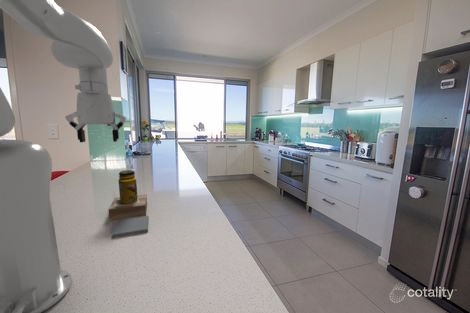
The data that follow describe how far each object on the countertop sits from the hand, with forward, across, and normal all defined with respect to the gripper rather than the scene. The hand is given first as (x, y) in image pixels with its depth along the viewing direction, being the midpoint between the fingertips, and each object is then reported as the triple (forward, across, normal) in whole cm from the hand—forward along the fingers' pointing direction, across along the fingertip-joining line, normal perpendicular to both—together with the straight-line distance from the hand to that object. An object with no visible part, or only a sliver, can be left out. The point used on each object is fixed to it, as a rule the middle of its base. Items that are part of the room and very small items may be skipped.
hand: (99, 141), depth 71 cm
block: (+28, +7, +4) cm, 29 cm away
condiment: (+24, +6, +4) cm, 25 cm away
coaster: (+28, +10, -9) cm, 31 cm away
